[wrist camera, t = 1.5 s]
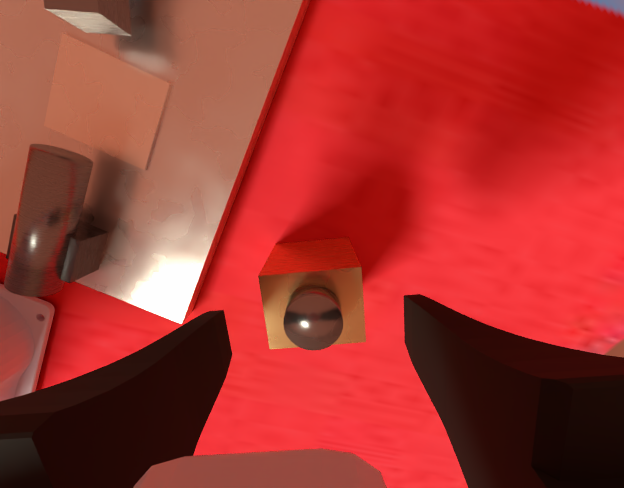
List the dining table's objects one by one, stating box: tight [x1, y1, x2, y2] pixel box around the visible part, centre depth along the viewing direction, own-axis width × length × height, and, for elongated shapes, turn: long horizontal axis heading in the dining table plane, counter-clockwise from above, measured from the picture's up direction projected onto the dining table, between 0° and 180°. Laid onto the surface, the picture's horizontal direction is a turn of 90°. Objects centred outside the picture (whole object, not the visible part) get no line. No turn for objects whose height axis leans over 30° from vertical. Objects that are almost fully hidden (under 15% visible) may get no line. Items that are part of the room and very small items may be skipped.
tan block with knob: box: [258, 237, 366, 350], centre depth 15 cm, size 4×4×7 cm
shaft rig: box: [0, 0, 310, 324], centre depth 14 cm, size 20×14×5 cm
